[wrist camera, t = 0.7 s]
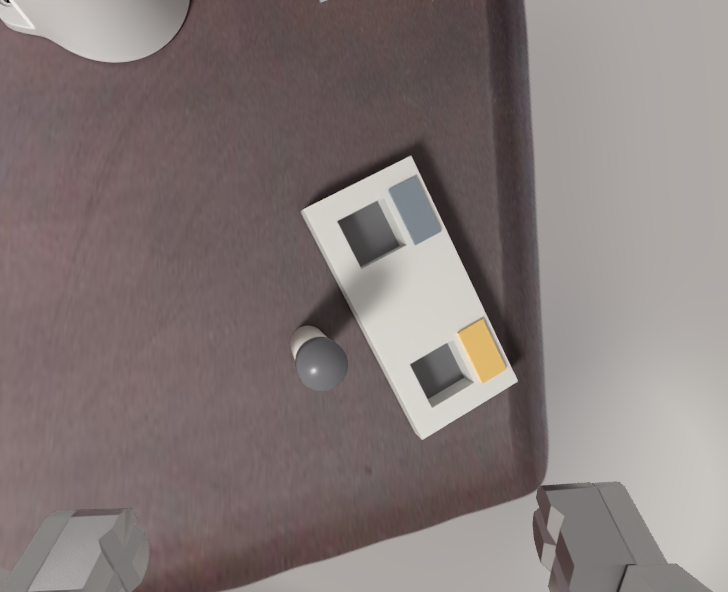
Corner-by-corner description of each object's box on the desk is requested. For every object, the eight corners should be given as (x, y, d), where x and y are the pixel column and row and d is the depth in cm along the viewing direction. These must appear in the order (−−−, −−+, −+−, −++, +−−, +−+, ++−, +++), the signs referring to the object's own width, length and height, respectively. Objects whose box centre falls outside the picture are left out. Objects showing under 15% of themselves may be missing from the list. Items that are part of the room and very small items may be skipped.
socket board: (300, 212, 49) (303, 208, 46) (402, 162, 51) (412, 154, 47) (413, 430, 53) (423, 441, 49) (504, 375, 55) (519, 382, 51)
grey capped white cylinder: (280, 335, 49) (287, 356, 37) (315, 316, 50) (333, 331, 38) (299, 369, 50) (312, 400, 38) (333, 350, 50) (356, 374, 39)
